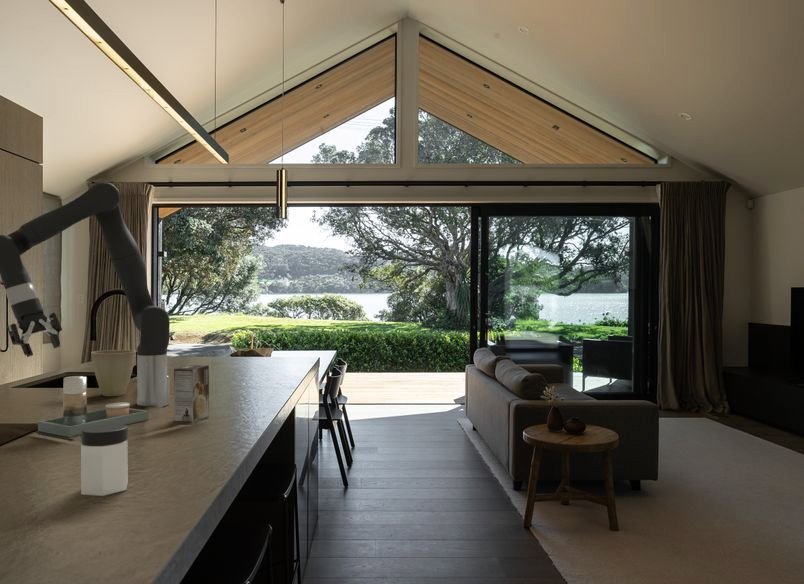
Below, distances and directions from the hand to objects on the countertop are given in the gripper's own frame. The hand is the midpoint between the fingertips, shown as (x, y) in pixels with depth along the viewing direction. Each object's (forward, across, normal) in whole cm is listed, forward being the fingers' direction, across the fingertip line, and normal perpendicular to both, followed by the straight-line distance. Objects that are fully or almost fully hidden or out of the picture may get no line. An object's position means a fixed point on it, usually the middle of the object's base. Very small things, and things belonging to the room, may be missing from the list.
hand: (44, 351), depth 187 cm
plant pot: (+23, +33, +24) cm, 47 cm away
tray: (+25, -6, -20) cm, 32 cm away
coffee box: (+33, +12, -35) cm, 50 cm away
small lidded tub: (+26, +1, -20) cm, 32 cm away
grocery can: (+23, -12, -20) cm, 32 cm away
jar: (+30, -40, -68) cm, 84 cm away
